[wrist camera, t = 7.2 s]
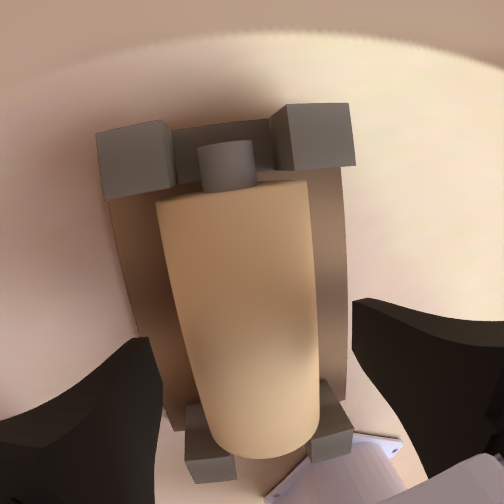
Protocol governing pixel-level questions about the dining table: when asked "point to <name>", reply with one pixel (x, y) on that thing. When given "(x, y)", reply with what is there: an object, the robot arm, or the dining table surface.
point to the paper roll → (246, 301)
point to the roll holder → (156, 272)
